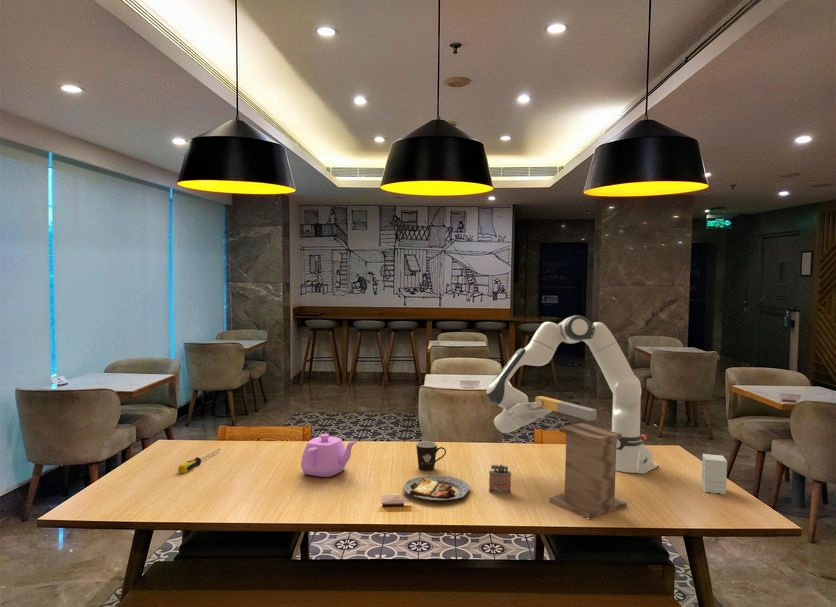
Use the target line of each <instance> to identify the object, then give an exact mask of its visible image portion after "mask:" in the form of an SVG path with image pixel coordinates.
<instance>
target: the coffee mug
mask: <svg viewBox="0 0 836 607" xmlns="http://www.w3.org/2000/svg"><path fill="white" fill-rule="evenodd" d="M415 447H416V454H417V456H416V457H417V467H418V470H419V471H422V472H423V471H424V472H430V471H434V470H435V465H436V463H437V462H438V461H440V460H441V459H443V458H444V456H446V454H447V450H446V448H444V447H441V446H440V447H438V443H436V442H433V441H429V440H428V441H419V442H417V443H416V444H415ZM441 449H442V450H443V451H444V453H443V454H442V456H440V457H438V458H437V459H436V456H437V452H438V451H439V450H441Z"/></svg>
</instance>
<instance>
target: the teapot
mask: <svg viewBox="0 0 836 607" xmlns="http://www.w3.org/2000/svg"><path fill="white" fill-rule="evenodd" d="M357 443H358V441H350V442H349V443H347V445H346V447H345V445H344V441H343V440H342V439H341V437H336V436H330V434H328V433H322V434H319V436H316V437H313V438H312V439H310V440H309V441H308V442H307V443H306V445H305V448H304V450H303V453H302V456H301V461H300V462H301V463H300V467H301V470H302V471H303V474H306V475H309V476H314V477H322V478H323V477H324V478H331V477H332V476H335V475H337V474H340V473H341V472H342V471H343V470H344V469H345V468H346V466H347V464H348V462H349V460H350V458H351V455H352V449H353V446H354V445H355V444H357Z"/></svg>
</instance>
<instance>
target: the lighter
mask: <svg viewBox="0 0 836 607" xmlns="http://www.w3.org/2000/svg"><path fill="white" fill-rule="evenodd" d="M490 468H491V470H489V471H488V475H489V477H488V478H489V480H488V482H489V484H488V486H489V487H488V493H491V494H497V493H498V494H499V495H509V494H511V493H512V490H511V482H512V481H511V477H512V471H510V470H509V466H507V465H503V464H499V465H498V464H491V467H490Z"/></svg>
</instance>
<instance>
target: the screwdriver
mask: <svg viewBox="0 0 836 607" xmlns="http://www.w3.org/2000/svg"><path fill="white" fill-rule="evenodd" d="M219 451H221V448H218V449H216V450H215V451H212V452H211V453H209V454H206V455H205V456H203V457H201V458H200V457H198V456H197V457H195V458H194V459H191V460H187V461H185V462H182V463H181V464H180V465H178V467H177V471H178V473H179V474H186V473H188V472H190V471H192V470H193V469H195V467H196V466H198V465H200V464H202V460H204V459H206V458H208V457H210V456H212V455H213V454H215V453H217V452H219Z"/></svg>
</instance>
